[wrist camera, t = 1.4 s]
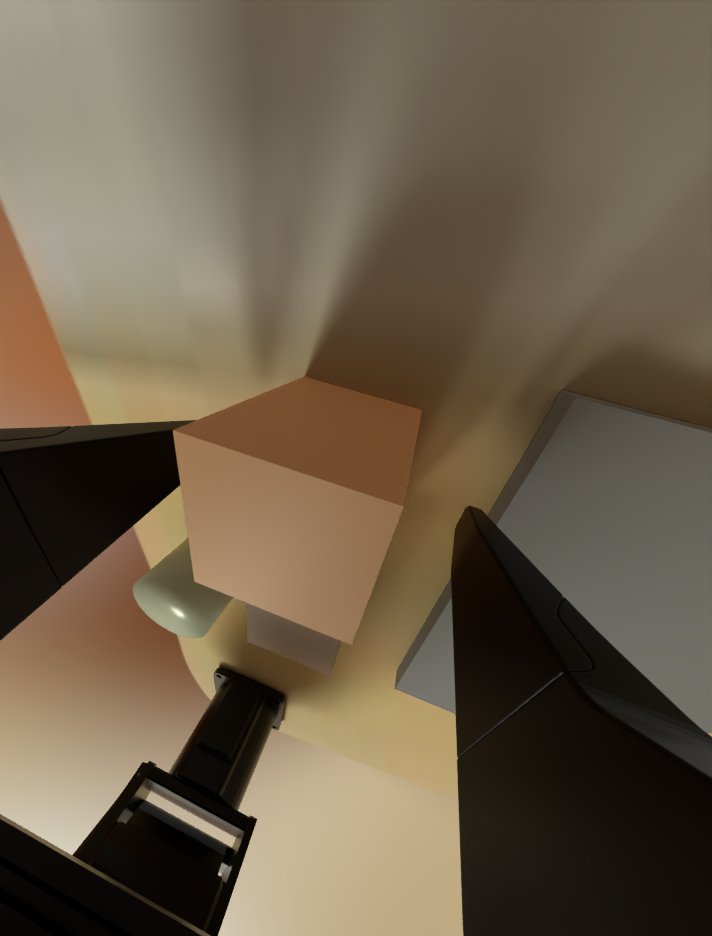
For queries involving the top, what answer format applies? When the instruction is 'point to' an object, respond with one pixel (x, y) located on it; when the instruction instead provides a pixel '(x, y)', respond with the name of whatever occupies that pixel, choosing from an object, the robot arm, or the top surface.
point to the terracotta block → (297, 499)
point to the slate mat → (607, 545)
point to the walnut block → (291, 640)
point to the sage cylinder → (179, 596)
